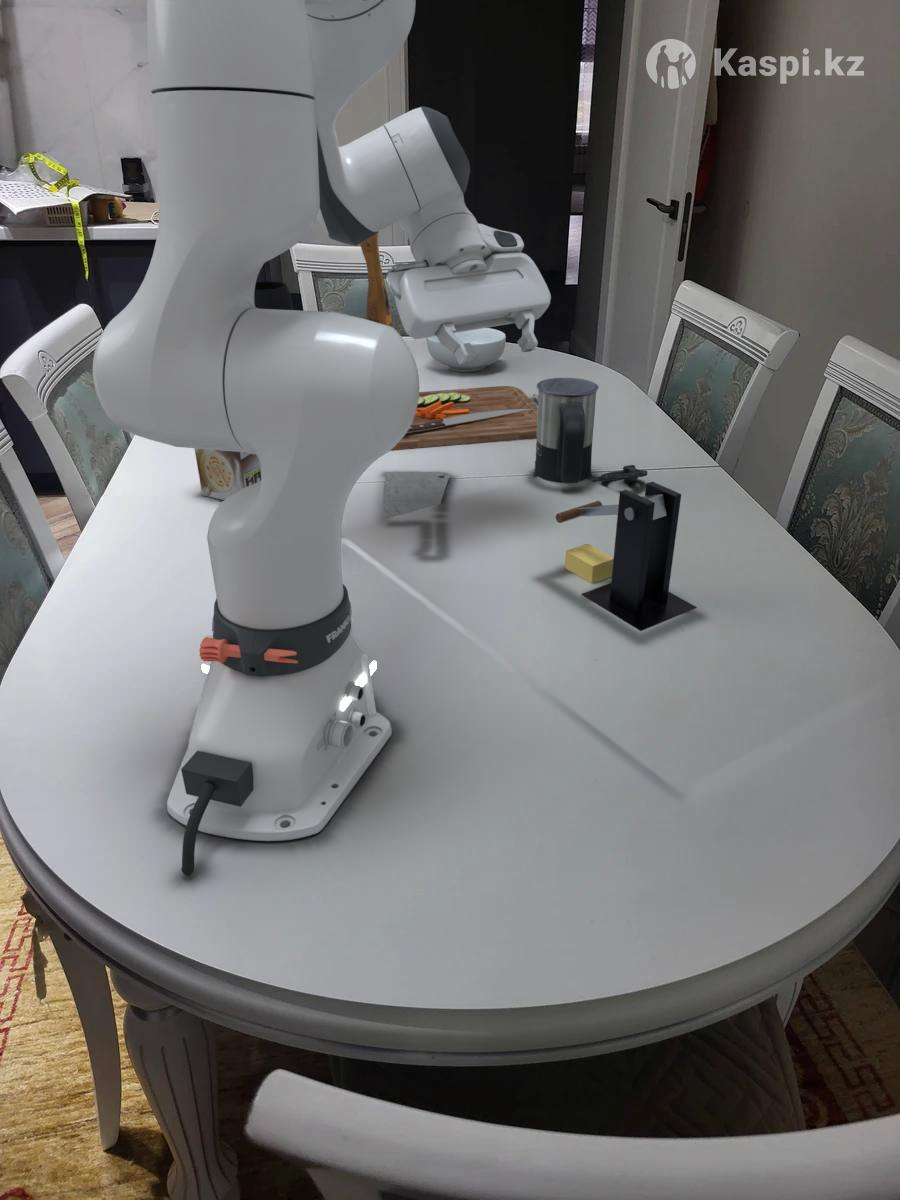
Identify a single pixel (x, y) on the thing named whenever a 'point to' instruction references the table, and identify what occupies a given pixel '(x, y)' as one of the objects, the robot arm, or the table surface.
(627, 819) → the table surface
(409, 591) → the table surface
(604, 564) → the butter
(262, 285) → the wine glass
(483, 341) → the cereal bowl
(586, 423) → the milk frother
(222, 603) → the robot arm
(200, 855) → the table surface
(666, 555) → the bracket
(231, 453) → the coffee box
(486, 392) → the chopping board
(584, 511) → the slicer arm
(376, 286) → the wooden handle
